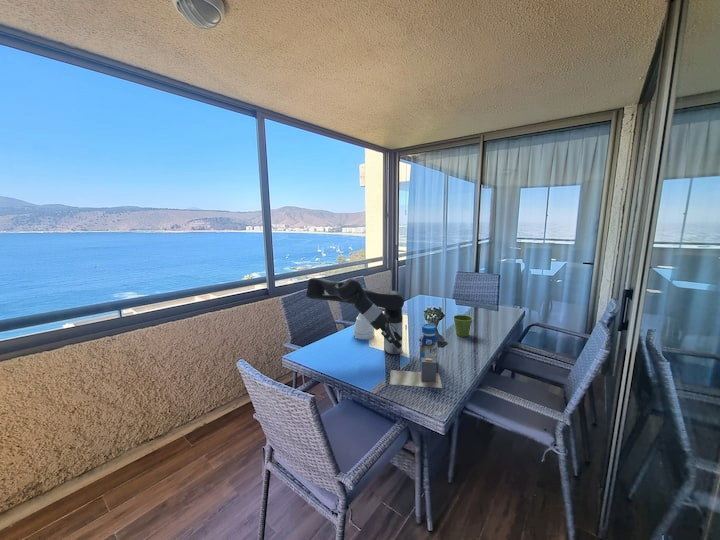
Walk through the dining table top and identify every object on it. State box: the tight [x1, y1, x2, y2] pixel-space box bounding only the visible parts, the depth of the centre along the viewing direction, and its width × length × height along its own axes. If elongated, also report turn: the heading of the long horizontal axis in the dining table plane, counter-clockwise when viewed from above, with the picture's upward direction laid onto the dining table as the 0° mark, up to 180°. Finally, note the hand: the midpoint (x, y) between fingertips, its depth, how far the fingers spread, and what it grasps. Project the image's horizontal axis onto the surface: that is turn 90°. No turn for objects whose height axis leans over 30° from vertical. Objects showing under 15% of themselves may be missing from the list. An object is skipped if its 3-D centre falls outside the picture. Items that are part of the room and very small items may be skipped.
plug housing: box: [420, 358, 437, 382], centre depth 126 cm, size 6×4×10 cm, turn 81°
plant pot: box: [452, 314, 474, 338], centre depth 180 cm, size 12×12×11 cm
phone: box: [418, 338, 448, 348], centre depth 171 cm, size 8×1×15 cm
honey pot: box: [353, 312, 375, 340], centre depth 180 cm, size 13×13×18 cm
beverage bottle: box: [419, 323, 438, 364], centre depth 142 cm, size 8×8×20 cm
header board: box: [389, 369, 443, 389], centre depth 128 cm, size 22×12×4 cm, turn 82°
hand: (400, 343), depth 126 cm, fingers open, 8 cm apart
